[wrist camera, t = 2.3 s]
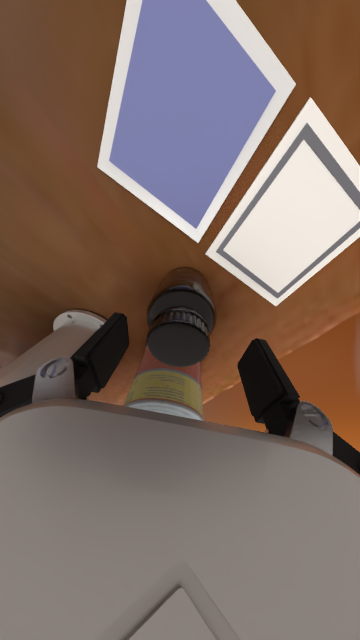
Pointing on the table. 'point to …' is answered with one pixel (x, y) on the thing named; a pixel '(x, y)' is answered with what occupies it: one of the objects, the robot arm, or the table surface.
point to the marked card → (293, 211)
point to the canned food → (166, 388)
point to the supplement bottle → (181, 319)
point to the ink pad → (188, 105)
